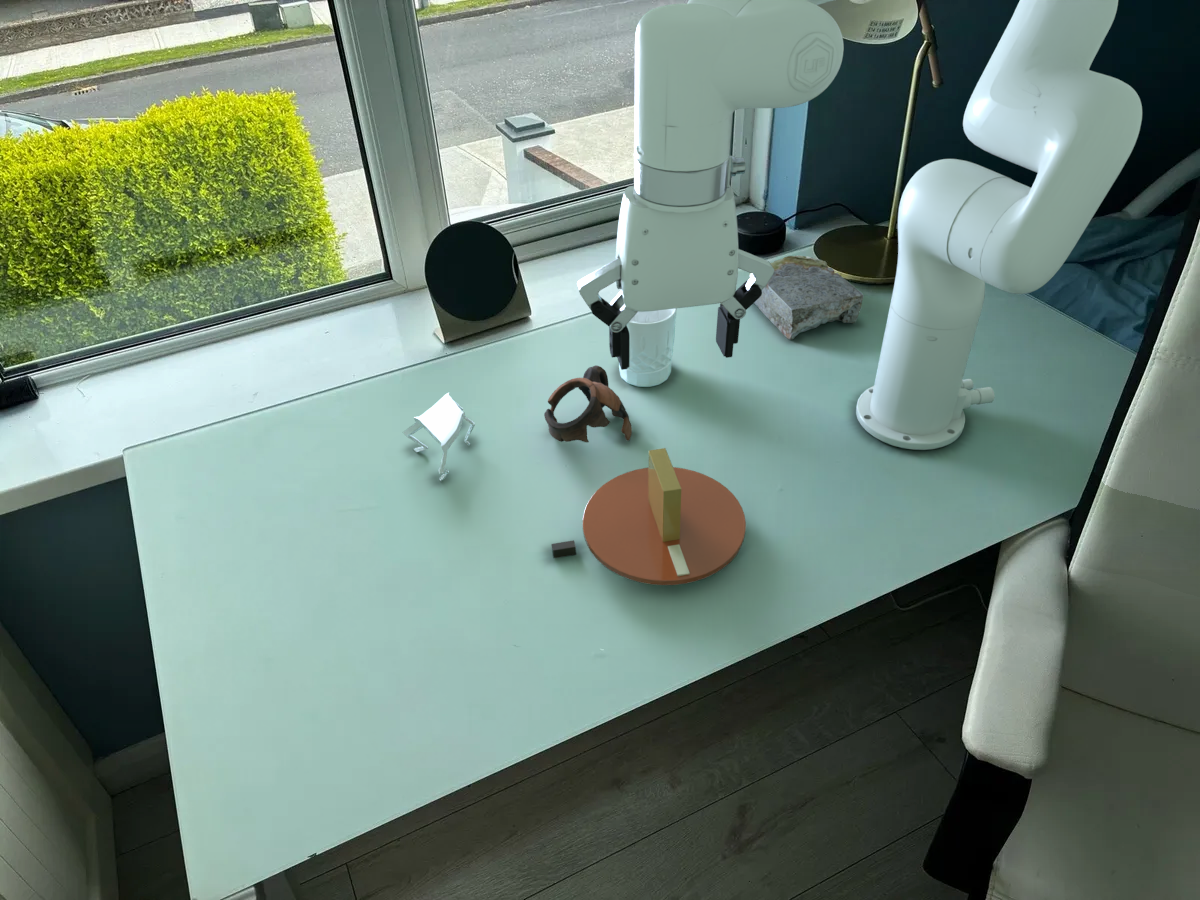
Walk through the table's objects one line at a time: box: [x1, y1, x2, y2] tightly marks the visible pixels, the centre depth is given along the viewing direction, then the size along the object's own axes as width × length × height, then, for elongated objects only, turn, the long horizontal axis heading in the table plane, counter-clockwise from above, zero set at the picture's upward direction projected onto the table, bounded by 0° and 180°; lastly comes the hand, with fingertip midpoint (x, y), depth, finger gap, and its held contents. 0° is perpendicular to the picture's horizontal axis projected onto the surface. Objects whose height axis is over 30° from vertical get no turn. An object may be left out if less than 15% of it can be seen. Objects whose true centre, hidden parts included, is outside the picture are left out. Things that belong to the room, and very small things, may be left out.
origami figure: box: [402, 391, 476, 482], centre depth 106 cm, size 12×8×5 cm
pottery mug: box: [543, 365, 633, 444], centre depth 109 cm, size 12×10×8 cm
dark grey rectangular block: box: [551, 540, 577, 559], centre depth 95 cm, size 17×10×2 cm, turn 101°
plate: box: [581, 447, 747, 586], centre depth 92 cm, size 17×17×8 cm
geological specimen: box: [748, 255, 864, 341], centre depth 128 cm, size 11×6×15 cm
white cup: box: [618, 308, 678, 388], centre depth 116 cm, size 8×8×10 cm
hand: (673, 355), depth 83 cm, fingers open, 9 cm apart
